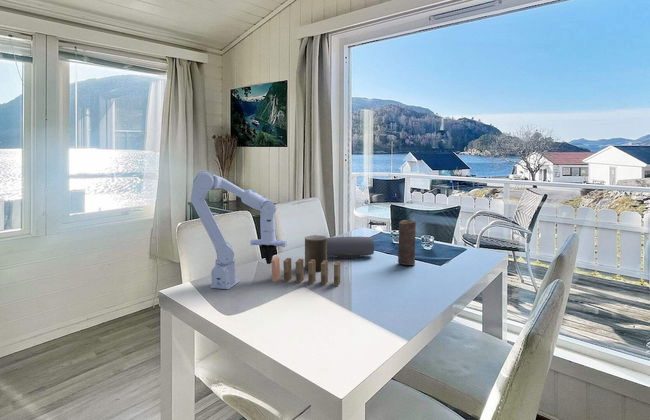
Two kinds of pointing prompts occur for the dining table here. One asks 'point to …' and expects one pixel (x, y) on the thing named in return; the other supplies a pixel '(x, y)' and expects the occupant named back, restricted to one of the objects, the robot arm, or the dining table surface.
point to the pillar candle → (315, 250)
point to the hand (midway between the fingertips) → (269, 263)
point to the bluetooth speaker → (350, 246)
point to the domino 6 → (337, 273)
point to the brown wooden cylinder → (407, 242)
